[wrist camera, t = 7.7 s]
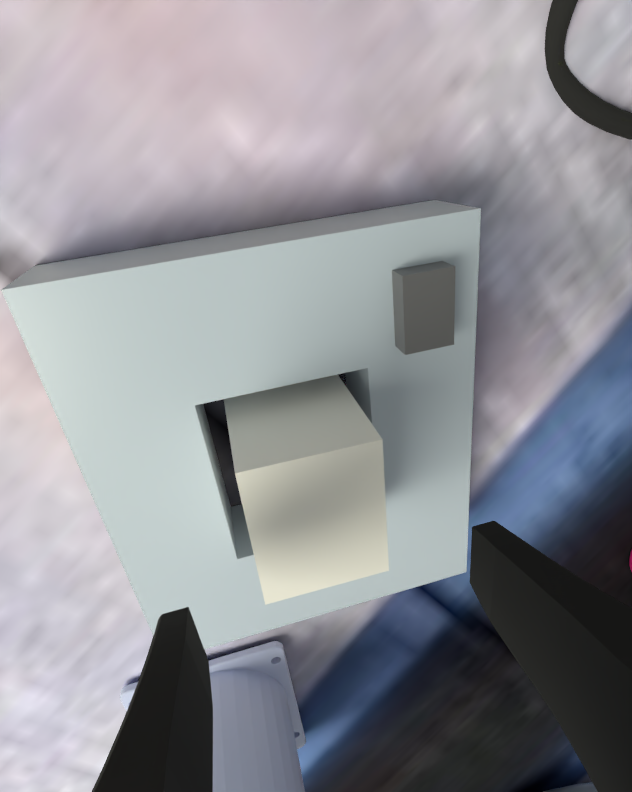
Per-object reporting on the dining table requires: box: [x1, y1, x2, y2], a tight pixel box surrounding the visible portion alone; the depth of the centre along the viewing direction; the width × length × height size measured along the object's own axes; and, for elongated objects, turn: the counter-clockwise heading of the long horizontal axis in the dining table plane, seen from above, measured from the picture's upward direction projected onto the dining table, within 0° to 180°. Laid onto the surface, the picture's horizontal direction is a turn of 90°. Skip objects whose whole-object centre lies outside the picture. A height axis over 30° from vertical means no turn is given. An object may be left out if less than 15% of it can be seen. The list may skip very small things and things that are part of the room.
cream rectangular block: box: [224, 374, 389, 605], centre depth 16 cm, size 5×4×6 cm
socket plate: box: [1, 200, 481, 649], centre depth 17 cm, size 15×13×4 cm
